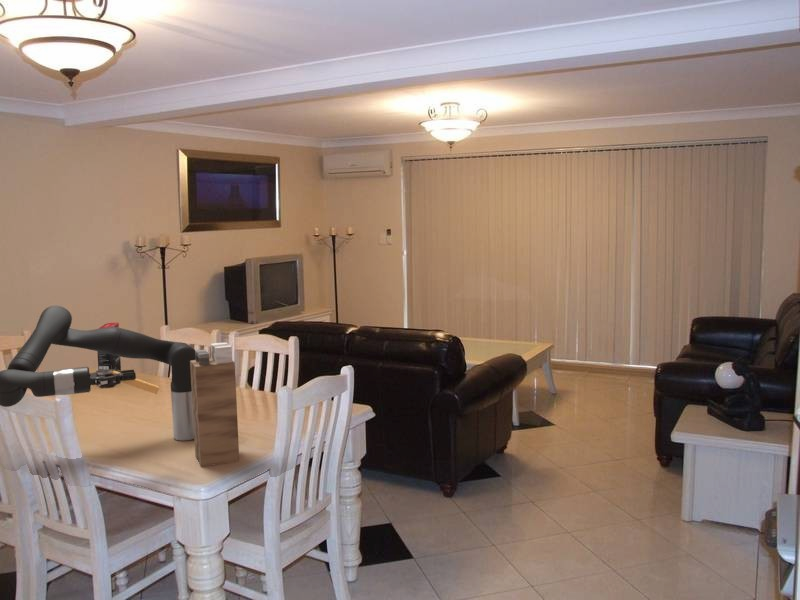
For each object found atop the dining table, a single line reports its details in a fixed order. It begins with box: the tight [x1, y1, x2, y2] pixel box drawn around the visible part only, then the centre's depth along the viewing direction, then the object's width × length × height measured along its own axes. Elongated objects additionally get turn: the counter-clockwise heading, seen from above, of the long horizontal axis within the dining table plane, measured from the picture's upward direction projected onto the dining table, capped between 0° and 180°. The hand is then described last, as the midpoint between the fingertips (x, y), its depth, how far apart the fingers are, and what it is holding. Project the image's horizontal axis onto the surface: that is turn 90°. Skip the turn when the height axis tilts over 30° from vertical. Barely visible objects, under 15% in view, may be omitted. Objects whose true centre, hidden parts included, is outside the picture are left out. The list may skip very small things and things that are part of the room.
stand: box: [190, 342, 240, 468], centre depth 223 cm, size 10×12×37 cm
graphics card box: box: [96, 322, 122, 388], centre depth 322 cm, size 17×7×27 cm, turn 10°
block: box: [113, 370, 160, 395], centre depth 211 cm, size 3×14×2 cm, turn 116°
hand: (134, 374), depth 211 cm, fingers closed on block, 3 cm apart
